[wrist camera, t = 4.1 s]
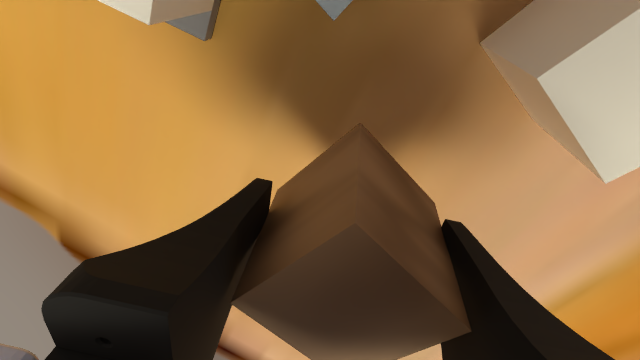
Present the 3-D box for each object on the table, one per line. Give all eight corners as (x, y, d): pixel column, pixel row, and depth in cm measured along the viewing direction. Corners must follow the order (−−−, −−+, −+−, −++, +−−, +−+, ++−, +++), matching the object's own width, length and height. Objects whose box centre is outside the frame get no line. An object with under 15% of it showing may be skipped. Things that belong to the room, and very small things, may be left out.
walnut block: (434, 202, 14) (471, 331, 9) (349, 253, 16) (340, 380, 11) (360, 122, 13) (355, 222, 8) (277, 189, 15) (230, 303, 10)
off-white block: (642, 48, 14) (794, 90, 9) (531, 118, 16) (605, 183, 11) (594, -48, 13) (743, -62, 8) (478, 42, 15) (536, 78, 10)
